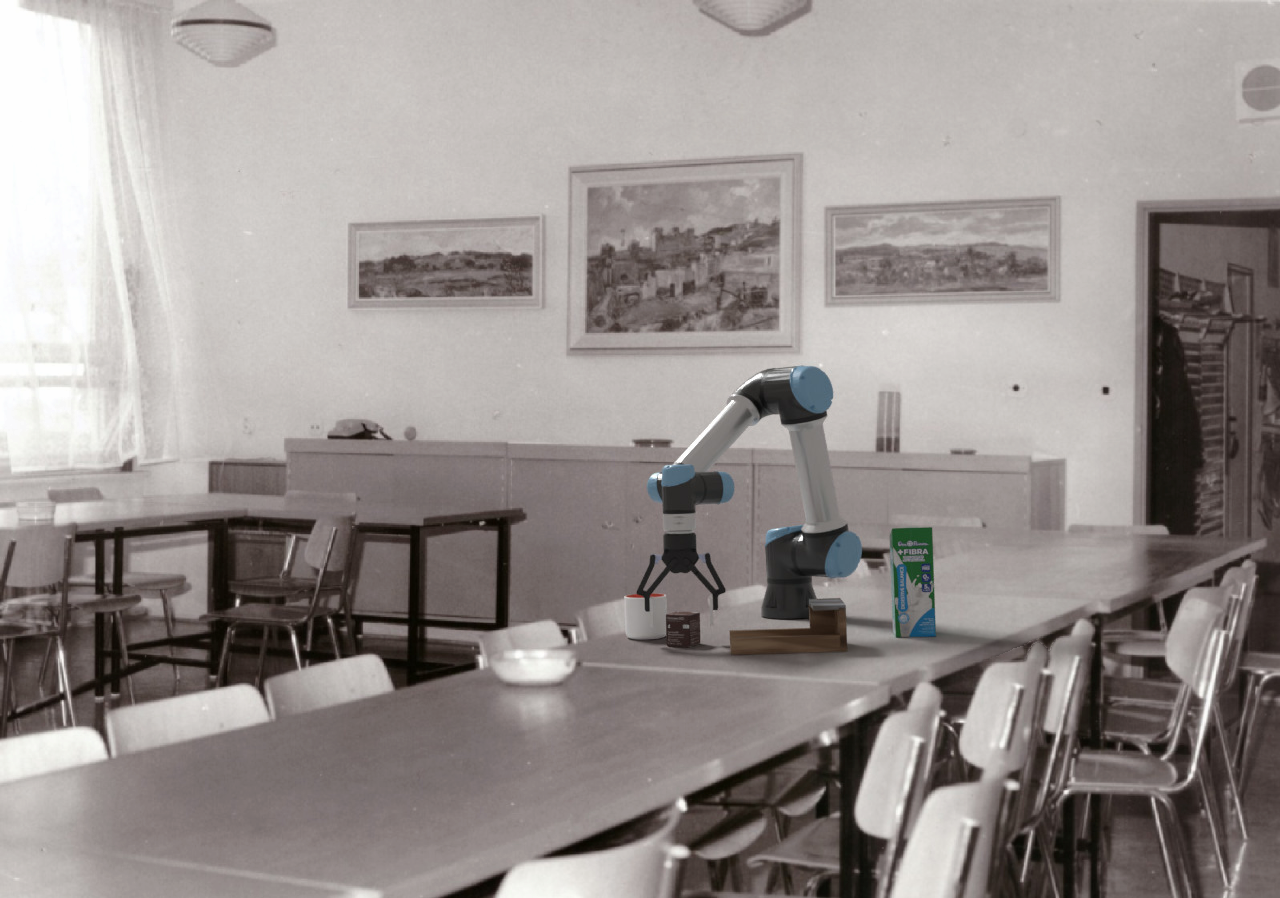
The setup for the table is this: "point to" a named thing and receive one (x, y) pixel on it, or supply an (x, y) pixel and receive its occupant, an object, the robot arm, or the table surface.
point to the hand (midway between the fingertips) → (681, 625)
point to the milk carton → (912, 582)
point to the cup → (645, 617)
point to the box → (683, 629)
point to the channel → (798, 633)
